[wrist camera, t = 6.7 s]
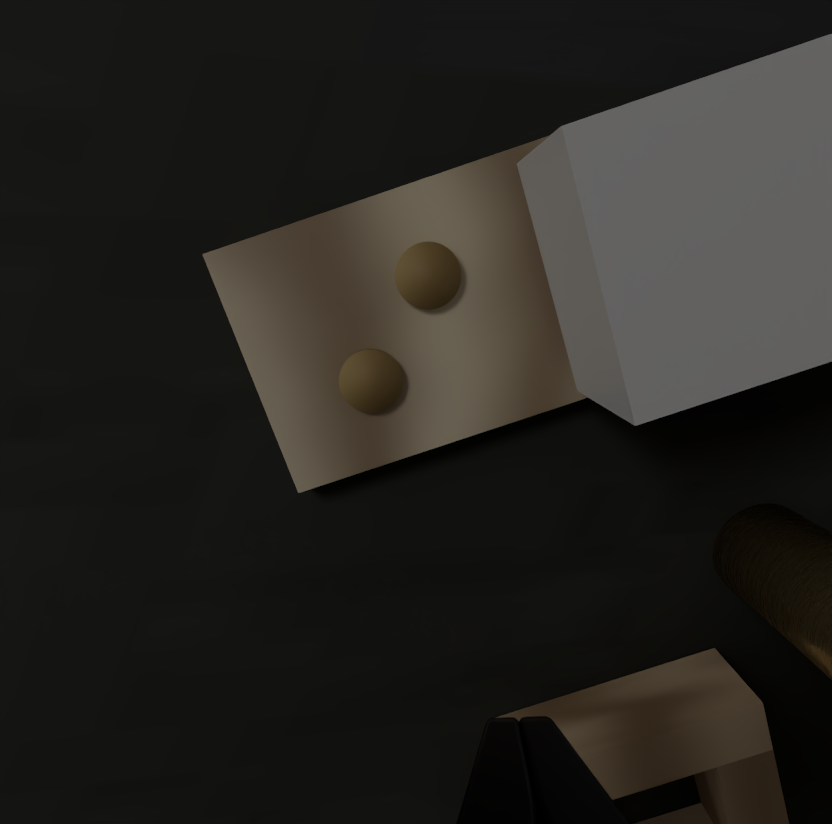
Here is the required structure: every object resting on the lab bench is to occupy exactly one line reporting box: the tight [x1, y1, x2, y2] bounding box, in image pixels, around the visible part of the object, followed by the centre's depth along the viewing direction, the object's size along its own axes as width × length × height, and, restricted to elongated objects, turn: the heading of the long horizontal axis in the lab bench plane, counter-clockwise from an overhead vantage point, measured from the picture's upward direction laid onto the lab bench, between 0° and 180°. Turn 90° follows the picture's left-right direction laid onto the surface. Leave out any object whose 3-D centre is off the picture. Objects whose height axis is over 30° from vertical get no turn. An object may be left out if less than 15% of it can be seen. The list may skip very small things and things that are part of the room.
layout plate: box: [203, 136, 588, 493], centre depth 19 cm, size 18×8×1 cm, turn 108°
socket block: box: [496, 648, 789, 824], centre depth 22 cm, size 9×9×3 cm
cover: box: [517, 34, 832, 426], centre depth 16 cm, size 7×7×4 cm
